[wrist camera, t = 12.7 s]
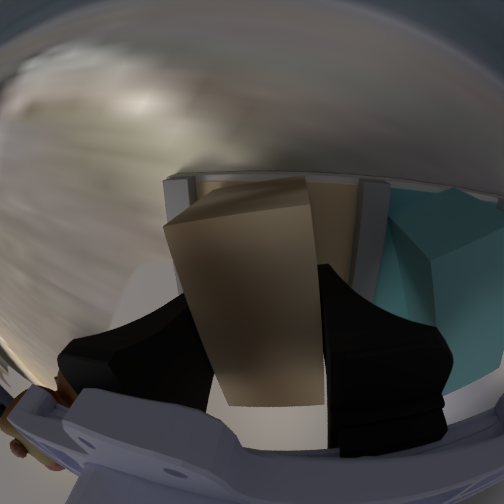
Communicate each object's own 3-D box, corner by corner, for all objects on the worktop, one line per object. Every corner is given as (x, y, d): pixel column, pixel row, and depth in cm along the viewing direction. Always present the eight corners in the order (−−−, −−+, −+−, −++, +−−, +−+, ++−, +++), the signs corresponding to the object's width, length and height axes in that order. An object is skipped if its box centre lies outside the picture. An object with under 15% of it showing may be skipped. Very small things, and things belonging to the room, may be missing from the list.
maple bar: (304, 175, 11) (309, 204, 7) (320, 328, 14) (324, 404, 10) (213, 189, 12) (162, 226, 7) (248, 333, 15) (228, 405, 10)
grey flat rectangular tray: (504, 196, 11) (523, 206, 9) (467, 323, 14) (479, 340, 12) (174, 173, 13) (157, 180, 12) (193, 317, 17) (183, 338, 15)
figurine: (100, 404, 26) (25, 470, 12) (68, 354, 26) (-20, 410, 12) (150, 404, 23) (60, 500, 9) (111, 341, 23) (-6, 423, 8)
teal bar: (453, 187, 10) (516, 220, 6) (464, 312, 13) (499, 367, 8) (385, 213, 11) (430, 260, 7) (410, 335, 14) (433, 399, 9)
